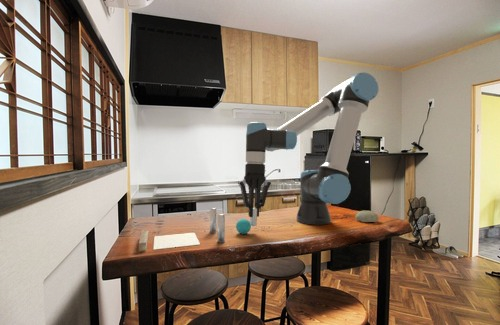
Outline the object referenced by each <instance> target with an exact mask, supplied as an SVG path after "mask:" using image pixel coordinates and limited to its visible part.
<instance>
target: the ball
mask: <svg viewBox="0 0 500 325" xmlns="http://www.w3.org/2000/svg"><path fill="white" fill-rule="evenodd" d="M250 222H251V221H249V220H248V219H246V218H240V219H239V220H238V221H236V225H235V227H236V228H235V229H236V231H237V232H238V233H239V234H241V235H247V233H249V232H250V231H251V228H252V225H251V224H250Z"/></svg>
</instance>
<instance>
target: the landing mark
mask: <svg viewBox="0 0 500 325" xmlns="http://www.w3.org/2000/svg"><path fill="white" fill-rule="evenodd" d="M192 246H201V243H200V241H199V239H198V237H197V235H196V233H195V232H188V233H187V232H185V233H177V234H165V235H155V236H154V238H153V249H152V250H153V251H156V250H164V249H165V250H166V249H175V247H176V248H182V247H192Z"/></svg>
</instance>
